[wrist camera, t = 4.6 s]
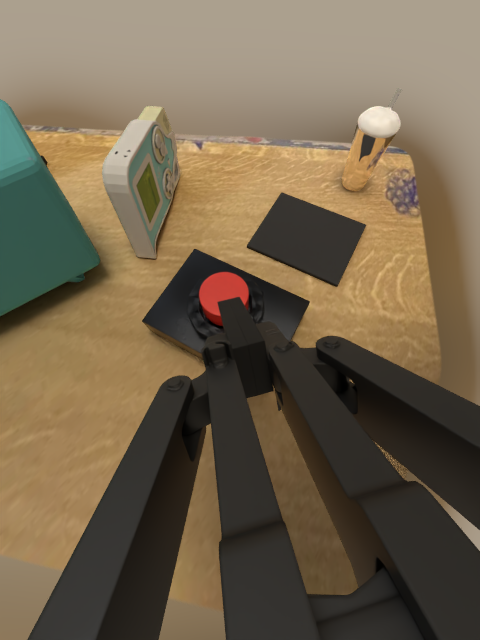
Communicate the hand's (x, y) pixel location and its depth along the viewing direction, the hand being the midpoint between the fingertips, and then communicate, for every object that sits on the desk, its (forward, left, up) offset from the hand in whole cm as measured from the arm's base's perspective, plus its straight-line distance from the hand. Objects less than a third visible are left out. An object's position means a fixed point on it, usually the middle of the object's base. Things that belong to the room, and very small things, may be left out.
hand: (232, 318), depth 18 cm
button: (+3, -3, -7) cm, 8 cm away
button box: (+3, -3, -12) cm, 13 cm away
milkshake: (-2, -30, -12) cm, 33 cm away
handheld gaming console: (+19, -13, -12) cm, 26 cm away
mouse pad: (0, -18, -12) cm, 22 cm away
